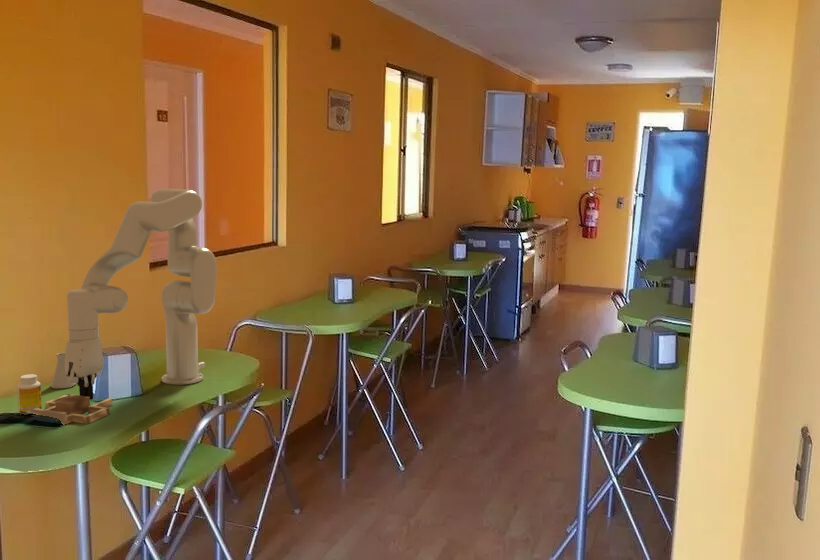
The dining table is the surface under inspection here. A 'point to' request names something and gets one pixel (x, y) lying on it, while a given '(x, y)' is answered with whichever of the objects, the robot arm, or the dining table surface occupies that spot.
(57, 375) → the flask
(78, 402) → the walnut block
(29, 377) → the supplement bottle
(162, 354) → the dining table surface
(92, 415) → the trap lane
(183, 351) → the robot arm
